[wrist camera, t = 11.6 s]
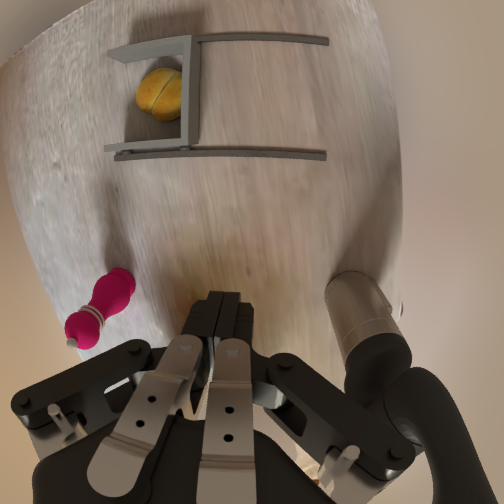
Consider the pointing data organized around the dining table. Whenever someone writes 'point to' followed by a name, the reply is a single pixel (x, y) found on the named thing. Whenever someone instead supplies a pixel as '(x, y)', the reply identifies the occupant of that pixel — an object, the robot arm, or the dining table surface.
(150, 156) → the track
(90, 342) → the pepper mill
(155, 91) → the bread roll
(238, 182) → the dining table surface
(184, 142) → the frame
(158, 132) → the dining table surface
